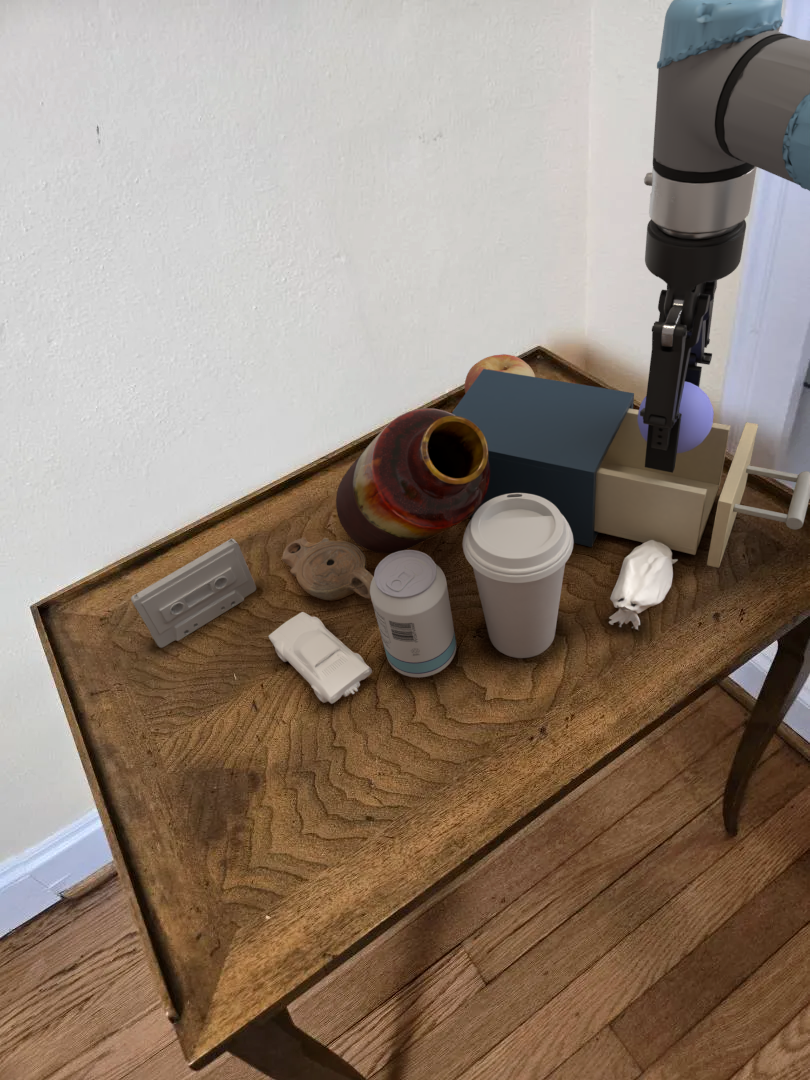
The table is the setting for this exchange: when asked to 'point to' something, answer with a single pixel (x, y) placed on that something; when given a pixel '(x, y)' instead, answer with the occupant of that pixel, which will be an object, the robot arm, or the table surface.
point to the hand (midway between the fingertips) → (670, 443)
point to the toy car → (319, 657)
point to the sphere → (688, 418)
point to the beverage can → (413, 613)
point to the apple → (498, 367)
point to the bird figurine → (642, 581)
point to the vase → (414, 481)
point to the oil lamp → (328, 568)
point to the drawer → (683, 491)
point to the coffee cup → (519, 569)
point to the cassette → (195, 593)
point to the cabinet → (546, 439)
